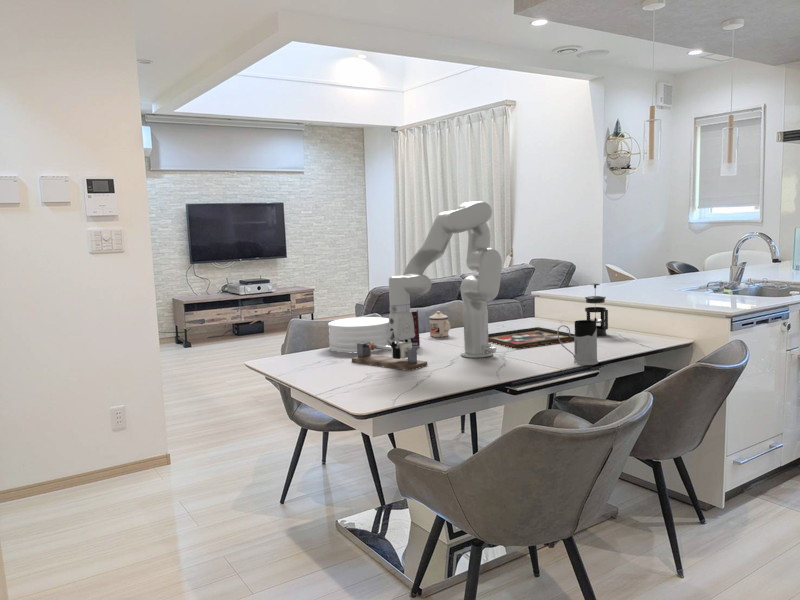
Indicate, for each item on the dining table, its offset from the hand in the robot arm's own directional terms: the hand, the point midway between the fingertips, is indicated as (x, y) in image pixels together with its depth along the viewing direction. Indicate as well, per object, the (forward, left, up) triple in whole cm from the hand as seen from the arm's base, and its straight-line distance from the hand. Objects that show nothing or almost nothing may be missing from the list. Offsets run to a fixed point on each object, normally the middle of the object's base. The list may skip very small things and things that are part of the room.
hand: (402, 356), depth 236 cm
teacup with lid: (+27, -59, -4) cm, 65 cm away
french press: (-34, -94, -4) cm, 100 cm away
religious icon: (-13, -70, -4) cm, 71 cm away
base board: (+7, 0, -3) cm, 8 cm away
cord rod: (+8, 0, -2) cm, 8 cm away
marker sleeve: (0, 0, 0) cm, 0 cm away
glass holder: (-53, -37, -4) cm, 64 cm away
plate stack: (+42, -20, -4) cm, 47 cm away
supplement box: (+22, -30, -4) cm, 37 cm away
